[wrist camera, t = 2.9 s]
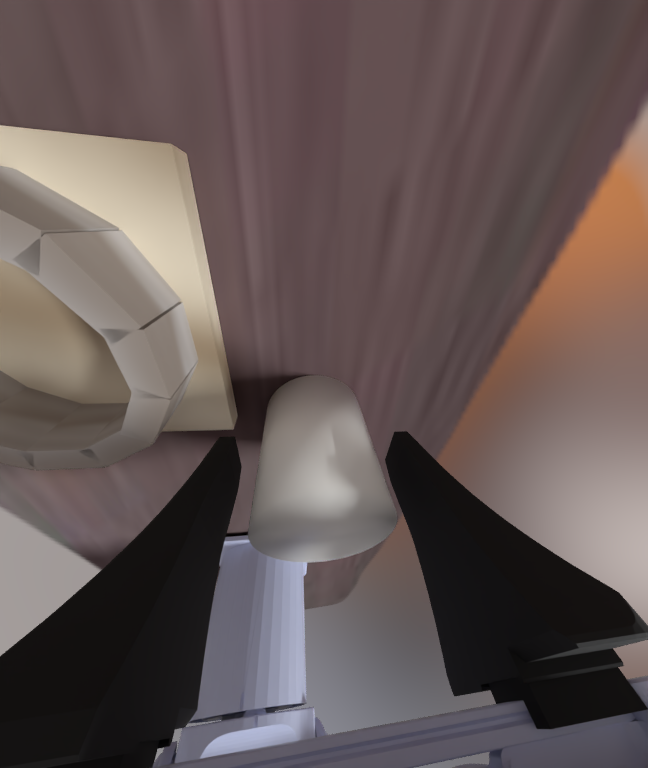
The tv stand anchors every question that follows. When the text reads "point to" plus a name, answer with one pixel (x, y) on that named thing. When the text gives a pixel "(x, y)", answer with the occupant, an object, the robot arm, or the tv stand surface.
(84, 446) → the beige square plate
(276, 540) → the white rounded piece
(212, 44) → the tv stand surface
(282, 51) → the tv stand surface
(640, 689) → the robot arm
